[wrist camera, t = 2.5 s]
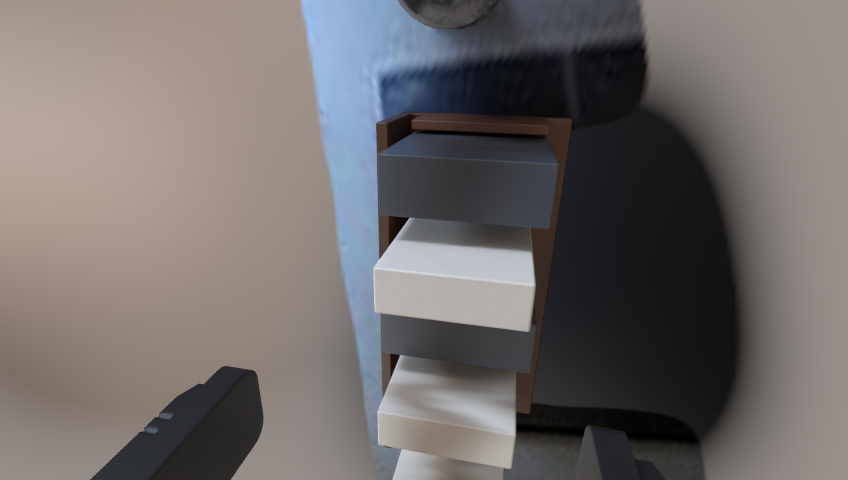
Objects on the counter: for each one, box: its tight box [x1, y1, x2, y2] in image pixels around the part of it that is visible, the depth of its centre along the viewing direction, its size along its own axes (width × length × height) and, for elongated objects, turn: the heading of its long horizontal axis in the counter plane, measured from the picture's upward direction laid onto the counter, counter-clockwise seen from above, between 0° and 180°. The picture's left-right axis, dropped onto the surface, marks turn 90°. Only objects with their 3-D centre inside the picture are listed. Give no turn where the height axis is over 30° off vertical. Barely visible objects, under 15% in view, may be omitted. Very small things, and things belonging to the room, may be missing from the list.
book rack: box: [376, 112, 572, 480], centre depth 23 cm, size 10×22×13 cm, turn 179°
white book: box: [373, 218, 536, 332], centre depth 21 cm, size 6×2×12 cm, turn 89°
